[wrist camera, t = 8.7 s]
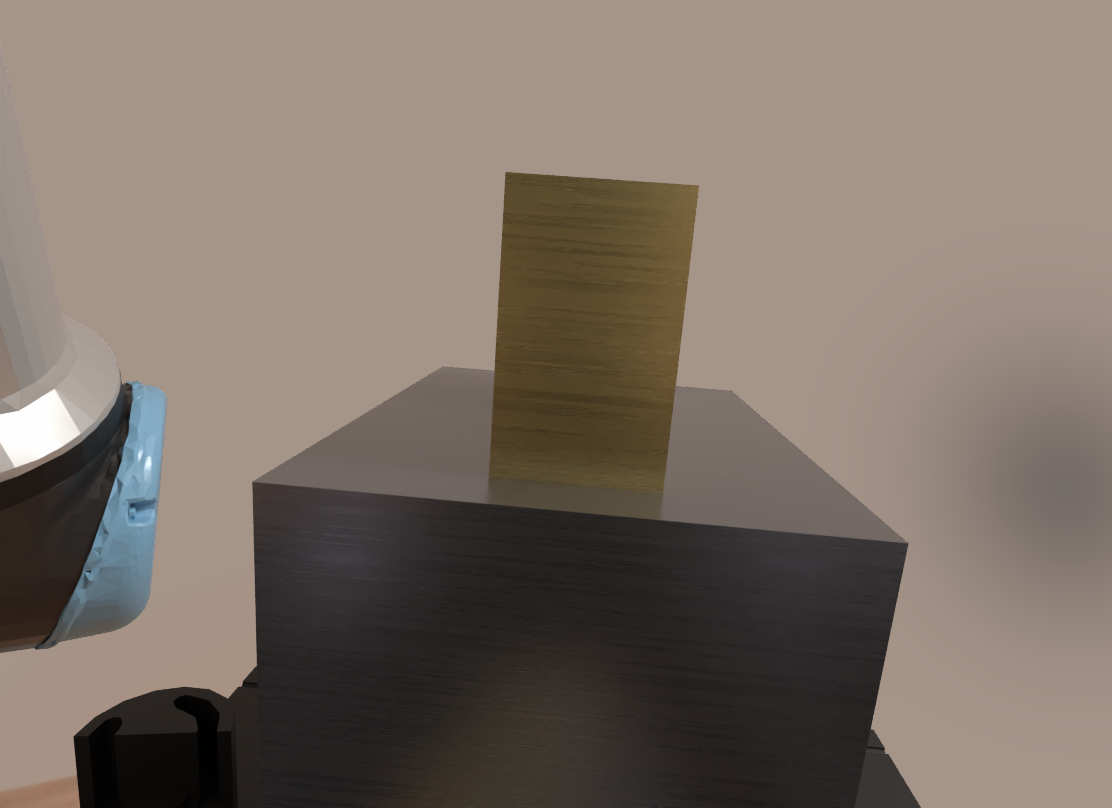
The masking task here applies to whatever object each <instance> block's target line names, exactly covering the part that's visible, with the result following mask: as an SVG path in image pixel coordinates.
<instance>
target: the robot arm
mask: <svg viewBox="0 0 1112 808" xmlns="http://www.w3.org/2000/svg"><path fill="white" fill-rule="evenodd" d="M166 403H167V398H166V395H165V393H164V392H163V391H162V390H161V389H159V388H157V387H155V386H148V385H143V384H141V383H140V382H138V381H135V382H126V383H124V384H123V385H122V382H121V376H120V370H119V367H118V363H117V361H116V358H115V355H114V353H113V351H112V350H111V348H110V347H109V345H108V344H107V343H106V342H105V341H104V340H103V339H102V338H101V337H100V336H99V335H97V334H96V333H95V332H93V331H92V330H91V329H89V328H87V327H86V326H85V325H83V324H81V323H79V322H77V321H75V320H73V319H71V318H69V317H66V316H64V315H62V313H61V309H60V304H59V300H58V296H57V291H56V286H55V282H54V277H53V273H52V268H51V264H50V259H49V255H48V250H47V246H46V241H45V237H44V233H43V228H42V224H41V219H40V214H39V210H38V205H37V201H36V196H35V192H34V187H33V183H32V179H31V174H30V170H29V165H28V161H27V156H26V152H25V148H24V143H23V138H22V134H21V129H20V125H19V120H18V116H17V111H16V107H15V102H14V98H13V93H12V89H11V84H10V80H9V75H8V71H7V66H6V62H5V58H4V53H3V48H2V44H1V40H0V653H3V652H9V651H16V650H23V649H30V648H35V649H36V650H38V649H48V648H51V647H53V646H55V645H56V644H58V643H59V642H62V641H66V640H72V639H77V638H81V637H87V636H92V635H96V634H101V633H107V632H111V631H115V630H118V629H120V628H122V627H124V626H126V625H128V624H129V623H131V622H132V621H133V620H135V619H136V618H137V617H138V616H139V615H140V613H141V612H142V611H143V610H144V608H145V607H146V604H147V602H148V600H149V595H150V589H151V579H152V567H153V557H154V547H155V535H156V524H157V513H158V502H159V490H160V477H161V465H162V454H163V444H164V431H165V419H166ZM74 747H75V757H76V768H77V779H78V789H79V800H80V808H261V804H260V764H259V724H258V684H257V667H255V668H254V669H253V670H252V672H251V673H250V674H249V675H248V676H247V677H246V678H245V680H244V681H243V684H242V687H238V688H237V689H236V690H235V691H234V692H233V694H232V695H231V696H230V697H229V698H228V699H227V698H226V697H223V696H222V695H220V694H218V693H216V692H214V691H212V690H210V689H200V688H191V687H180V688H172V689H164V690H157V691H153V692H150V693H147V694H144V695H141V696H138V697H135V698H132V699H129V700H126V701H123V702H122V703H120V704H118V705H116V706H114V707H112V708H111V709H109V710H107V711H105V712H103V713H101V714H100V715H98V716H96V717H95V718H94V719H93V720H91V721H90V722H89V723H88V724H87V725H86V726H85V727H84V728H82V729H81V730H80V731H79V732H78V733H77V734H76V735H75V736H74ZM884 750H885V748H884V746H883V745H882V743H881V741H880V740H879V738H878V737H877V735H876V733H875V732H874V730H870V734H869V739H868V744H867V749H866V754H865V759H864V764H863V769H862V774H861V779H860V783H859V788H858V793H857V798H856V803H855V808H921V807H920V805H919V804H918V802H917V800H916V799H915V797H914V796H913V794H912V792H911V791H910V789H909V787H908V786H907V784H906V783H905V781H904V779H903V778H902V776H901V774H900V773H899V771H898V769H897V768H896V766H895V764H894V763H893V761H892V760H891V758H890V756H889V755H888V754H885V751H884Z"/></svg>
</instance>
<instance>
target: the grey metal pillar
mask: <svg viewBox="0 0 1112 808" xmlns="http://www.w3.org/2000/svg"><path fill="white" fill-rule="evenodd" d="M698 189H699V186H696V185H682V184H667V183H652V182H638V181H625V180H611V179H596V178H581V177H568V176H554V175H539V174H525V173H511V172H506V175H505V195H504V212H503V229H502V230H503V231H502V247H501V248H502V249H501V266H500V283H499V301H498V319H497V338H496V356H495V371H489V370H478V369H466V368H453V367H441V368H440V369H438V370H436V371H434V372H433V373H431V374H429V375H428V376H426V377H425V378H423V379H421V380H420V381H418V382H416V383H415V384H413V385H411V386H410V387H408V388H406V389H405V390H403V391H401V392H400V393H398V394H396V395H395V396H393V397H392V398H390V399H388V400H387V401H385V402H383V403H382V404H380V405H378V406H377V407H375V408H373V409H372V410H370V411H369V412H367V413H365V414H363V415H362V416H360V417H359V418H357V419H355V420H354V421H352V422H350V423H349V424H347V425H346V426H344V427H342V428H340V429H339V430H337V431H335V432H334V433H332V434H331V435H329V436H327V437H326V438H324V439H322V440H321V441H319V442H317V443H316V444H314V445H312V446H311V447H309V448H307V449H306V450H304V451H302V452H301V453H299V454H298V455H296V456H294V457H293V458H291V459H289V460H288V461H286V462H284V463H283V464H281V465H279V466H278V467H276V468H274V469H273V470H271V471H270V472H268V473H266V474H265V475H263V476H261V477H260V478H258V479H256V480H255V481H253V483H252V485H253V520H254V521H253V523H254V564H255V599H256V600H255V603H256V642H257V643H256V644H257V684H258V724H259V764H260V804H261V808H855V803H856V798H857V793H858V788H859V783H860V779H861V774H862V769H863V764H864V759H865V754H866V749H867V744H868V739H869V734H870V730H871V725H872V720H873V714H874V710H875V705H876V700H877V695H878V690H879V685H880V680H881V676H882V671H883V666H884V661H885V656H886V651H887V646H888V641H889V636H890V631H891V627H892V622H893V617H894V612H895V606H896V602H897V597H898V592H899V587H900V582H901V578H902V573H903V567H904V563H905V557H906V553H907V547H908V543H907V542H906V541H905V540H904V539H903V538H902V537H900V536H899V535H898V534H897V533H896V532H895V531H893V530H892V529H891V528H890V527H889V526H888V525H887V524H885V523H884V522H883V521H882V520H881V519H879V518H878V517H877V516H876V515H875V514H874V513H873V512H871V511H870V510H869V509H868V508H867V507H866V506H864V505H863V504H862V503H861V502H860V501H859V500H858V499H856V498H855V497H854V496H853V495H851V494H850V493H849V492H848V491H847V490H846V489H845V488H843V487H842V486H841V485H840V484H838V482H837V481H835V480H834V479H833V478H832V477H831V476H830V475H828V474H827V473H826V472H825V471H824V470H823V469H822V468H820V467H819V466H818V465H817V464H816V463H815V462H813V461H812V460H811V459H810V458H809V457H808V456H806V455H805V454H804V453H803V452H802V451H801V450H799V449H798V448H797V447H796V446H795V445H794V444H792V443H791V442H790V441H789V440H788V439H787V438H786V437H784V436H783V435H782V434H781V433H780V432H778V431H777V430H776V429H775V428H774V427H773V426H772V425H770V424H769V423H768V422H767V421H766V420H765V419H763V418H762V417H761V416H760V415H759V414H757V413H756V412H755V411H754V410H753V409H752V408H751V407H750V406H748V405H747V404H746V403H745V402H744V401H743V400H741V399H740V398H739V397H738V396H737V395H736V394H734V393H733V392H732V391H727V390H714V389H703V388H691V387H679V386H676V379H677V370H678V361H679V353H680V344H681V335H682V326H683V318H684V310H685V300H686V292H687V283H688V275H689V266H690V257H691V249H692V240H693V232H694V223H695V215H696V206H697V198H698Z"/></svg>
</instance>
